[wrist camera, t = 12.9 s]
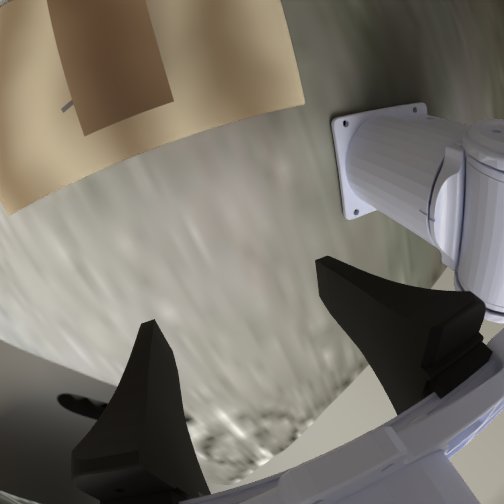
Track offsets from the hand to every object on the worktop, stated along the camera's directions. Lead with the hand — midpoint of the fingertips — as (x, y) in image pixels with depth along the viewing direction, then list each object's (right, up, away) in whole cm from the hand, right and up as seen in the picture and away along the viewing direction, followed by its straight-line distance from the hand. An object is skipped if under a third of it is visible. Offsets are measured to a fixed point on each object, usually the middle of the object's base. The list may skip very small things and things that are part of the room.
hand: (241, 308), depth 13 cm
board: (-7, +14, +1) cm, 16 cm away
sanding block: (-7, +13, 0) cm, 15 cm away
